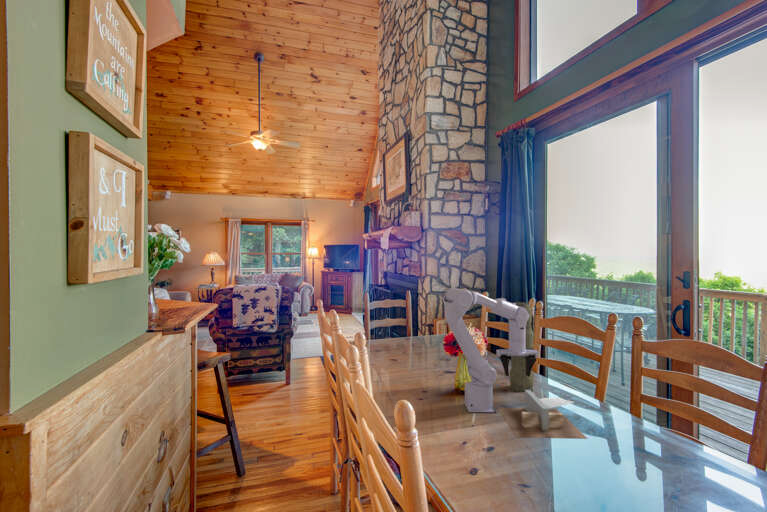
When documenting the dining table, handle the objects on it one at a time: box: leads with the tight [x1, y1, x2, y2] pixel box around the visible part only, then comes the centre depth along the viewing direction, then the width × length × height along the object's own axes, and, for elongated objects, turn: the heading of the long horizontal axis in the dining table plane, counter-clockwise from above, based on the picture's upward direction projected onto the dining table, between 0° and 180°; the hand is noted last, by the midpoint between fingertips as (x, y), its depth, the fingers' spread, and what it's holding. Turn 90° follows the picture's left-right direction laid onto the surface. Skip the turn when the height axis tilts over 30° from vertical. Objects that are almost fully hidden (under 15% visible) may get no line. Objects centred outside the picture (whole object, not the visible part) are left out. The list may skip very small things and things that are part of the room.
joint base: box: [497, 407, 588, 440], centre depth 111 cm, size 20×20×5 cm
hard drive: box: [539, 397, 575, 409], centre depth 127 cm, size 2×8×12 cm
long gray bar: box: [524, 390, 550, 430], centre depth 113 cm, size 2×15×6 cm, turn 177°
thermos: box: [507, 301, 535, 393], centre depth 141 cm, size 9×12×35 cm
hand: (517, 375), depth 128 cm, fingers open, 7 cm apart
